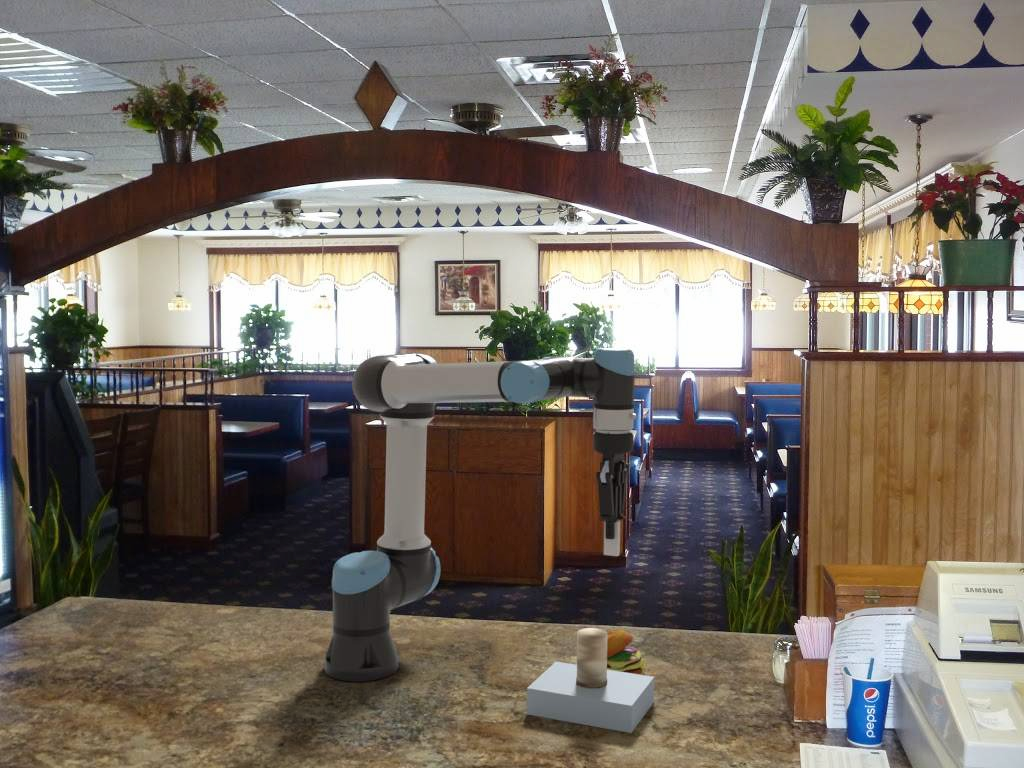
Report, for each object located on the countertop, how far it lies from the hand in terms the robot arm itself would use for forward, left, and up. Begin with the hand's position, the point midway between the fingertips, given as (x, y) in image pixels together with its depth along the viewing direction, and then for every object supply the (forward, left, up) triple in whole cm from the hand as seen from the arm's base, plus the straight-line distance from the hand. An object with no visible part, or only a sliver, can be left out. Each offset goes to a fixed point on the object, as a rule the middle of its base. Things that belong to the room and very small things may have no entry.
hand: (611, 554), depth 191 cm
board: (-2, -5, -28) cm, 29 cm away
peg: (-2, -5, -28) cm, 28 cm away
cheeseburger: (-3, +14, -29) cm, 32 cm away
